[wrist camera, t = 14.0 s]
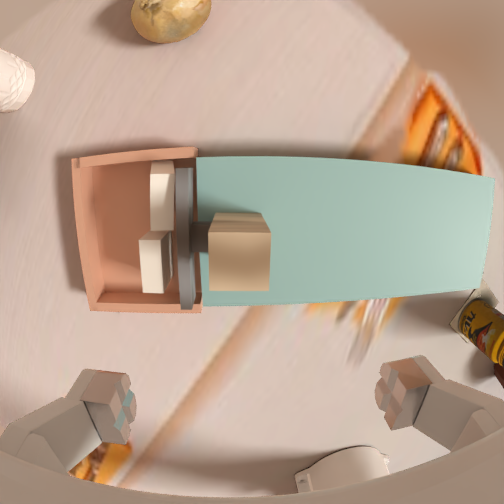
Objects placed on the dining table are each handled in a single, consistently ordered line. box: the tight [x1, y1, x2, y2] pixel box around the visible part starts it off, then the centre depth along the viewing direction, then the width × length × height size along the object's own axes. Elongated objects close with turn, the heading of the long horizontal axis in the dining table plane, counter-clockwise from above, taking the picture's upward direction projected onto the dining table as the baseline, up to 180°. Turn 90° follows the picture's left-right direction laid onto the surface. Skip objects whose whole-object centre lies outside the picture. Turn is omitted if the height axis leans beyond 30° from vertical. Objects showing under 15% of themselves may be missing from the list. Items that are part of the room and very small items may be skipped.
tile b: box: [150, 160, 175, 231], centre depth 27 cm, size 5×5×2 cm
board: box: [196, 156, 495, 306], centre depth 31 cm, size 14×34×4 cm, turn 90°
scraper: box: [175, 168, 271, 310], centre depth 24 cm, size 12×7×8 cm, turn 178°
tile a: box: [139, 230, 173, 293], centre depth 29 cm, size 5×5×2 cm
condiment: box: [450, 279, 504, 367], centre depth 32 cm, size 7×8×12 cm
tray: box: [71, 147, 203, 313], centre depth 30 cm, size 16×12×4 cm
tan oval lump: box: [131, 0, 211, 43], centre depth 22 cm, size 8×8×7 cm
